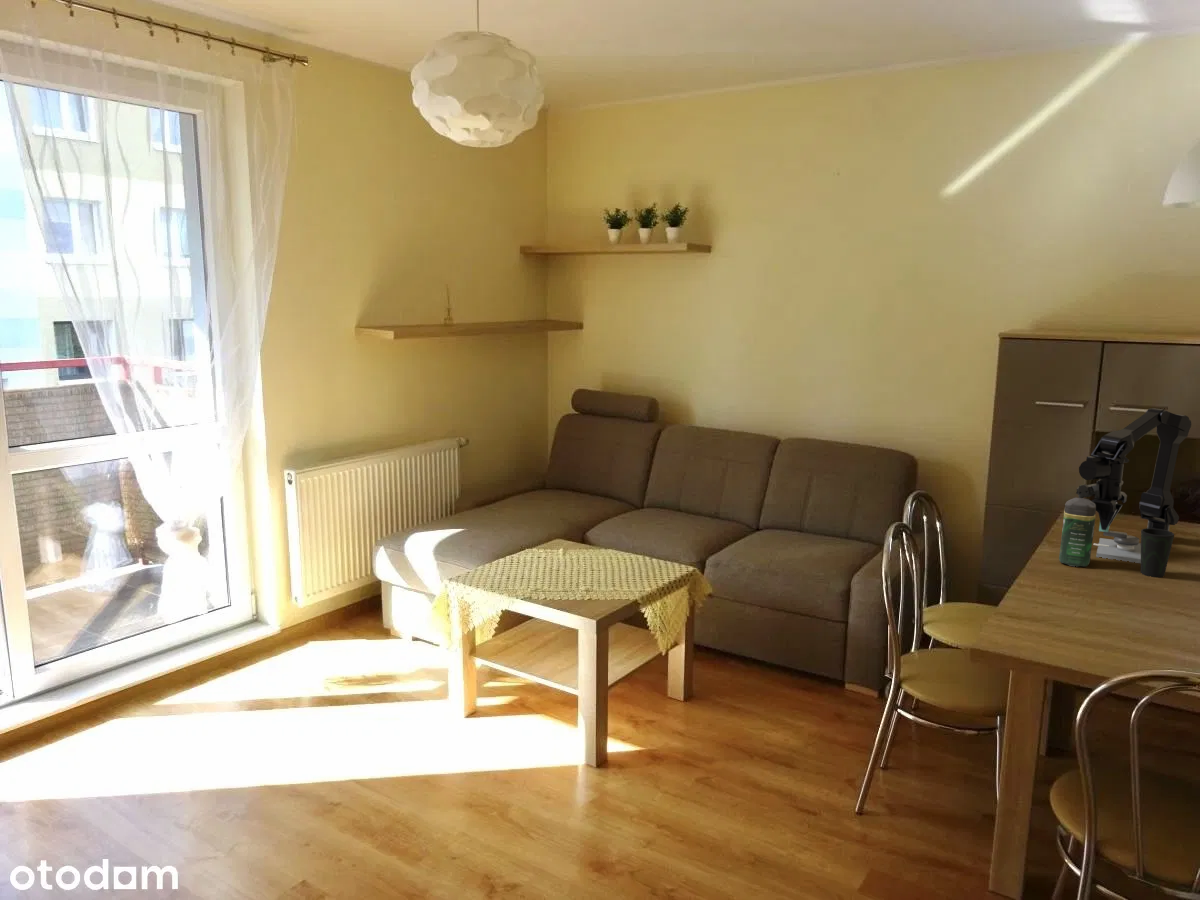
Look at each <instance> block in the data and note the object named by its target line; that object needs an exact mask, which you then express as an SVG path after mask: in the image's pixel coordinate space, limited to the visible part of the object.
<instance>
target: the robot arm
mask: <svg viewBox="0 0 1200 900" xmlns="http://www.w3.org/2000/svg"><path fill="white" fill-rule="evenodd" d="M1191 427H1192V420H1191V419H1190V417H1189V416H1188V415H1184V414H1180V413H1179V414H1178V413H1177V414H1176V413H1172V412H1170V411H1168V410H1166V409H1162V408H1161V409H1160V408H1154V407H1153V408H1148V409H1146V411H1145V413H1143V414H1142V415H1140V416H1139V417H1138V418H1136V419H1135V420H1133V421H1132V422H1131V423H1129V424H1128V425H1126V426H1125V427H1124V428H1121V429H1119V430H1113V431H1111V432H1108V433H1106V434H1104V435H1102V437H1101V438H1100V439H1099V441H1098V443H1097V445H1096V446H1095V447H1094V449H1093V451H1092V452H1091V454H1090V455H1089V456H1086V460H1084V461H1082V462H1081V463H1080V465H1079V466H1078V472H1079V475H1080V477H1081V478H1082V479H1083V480H1086V481H1092V480H1096V483H1091V484H1086V483H1085V484H1080V485H1079V486H1078V487H1076V493H1075V494H1076V495H1077V496H1078V498H1083V499H1085V498H1087V497H1094V499H1092V500H1091V501H1092V502H1093V503H1095V505H1096V513H1098V515H1099V524H1100V523H1101V529H1102V530H1106V529H1107V527H1108V525H1109V527H1110V526H1111V524H1112V523H1113V521H1114V519H1115V518H1116V517H1117V515H1118V514H1119V512H1120V510H1121V509H1122V507H1123V504H1125V503H1126V502H1127V498H1128V495H1127V494H1126V492H1124V491H1122V486H1123V484H1124V480H1123V474H1124V473H1123V472H1124V468H1125V467H1124V465H1125V463H1129V462H1130V459H1128V458H1127V457H1126V456H1127V455H1128V454H1129V453H1130V452H1131V451H1132V450H1133V449H1134V447H1135V443H1136V442H1137V441H1139V440H1140V439H1141V438H1142V437H1144V436H1145V435H1147V434H1148V433H1149V432H1151V431H1152V430H1154V429H1156V430H1155V431H1156V435H1157V437H1158V439H1159V446H1158V451H1157V455H1156V461H1155V466H1154V471H1153V476H1152V481H1151V486H1150V488H1149V489H1148V490H1146V492H1145V491H1143V492H1142V493H1141V495H1140V501H1139V503H1138V504H1139V505H1138V506H1139V510H1140V519H1143V520H1147V526H1146V528H1154V529H1162V530H1167V531H1170V526H1175V525H1176V524H1178V522H1179V519H1180V516H1179V514H1178V513H1177V511H1176V510H1175V508H1174V503H1175V500H1174V497H1173V495H1172V492H1171V488H1172V487H1171V486H1172V482H1173V477H1174V473H1175V472H1174V470H1175V468H1176V462H1177V457H1178V453H1179V448H1180V444H1181V443H1182V442H1183V441H1184V440H1186V438H1188V436H1189V432H1190V430H1191ZM1118 501H1121V503H1123V504H1121V503H1118Z"/></svg>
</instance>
